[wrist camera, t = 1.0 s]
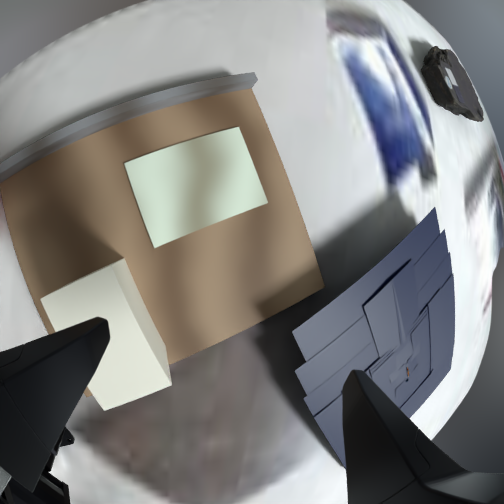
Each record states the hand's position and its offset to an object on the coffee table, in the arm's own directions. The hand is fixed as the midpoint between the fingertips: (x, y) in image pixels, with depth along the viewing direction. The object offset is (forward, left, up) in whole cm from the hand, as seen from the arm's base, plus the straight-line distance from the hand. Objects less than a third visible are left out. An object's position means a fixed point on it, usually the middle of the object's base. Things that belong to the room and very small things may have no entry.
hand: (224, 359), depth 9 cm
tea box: (-5, +1, -11) cm, 12 cm away
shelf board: (0, +5, -12) cm, 13 cm away
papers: (+18, -18, -12) cm, 28 cm away
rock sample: (+51, +14, -13) cm, 54 cm away
